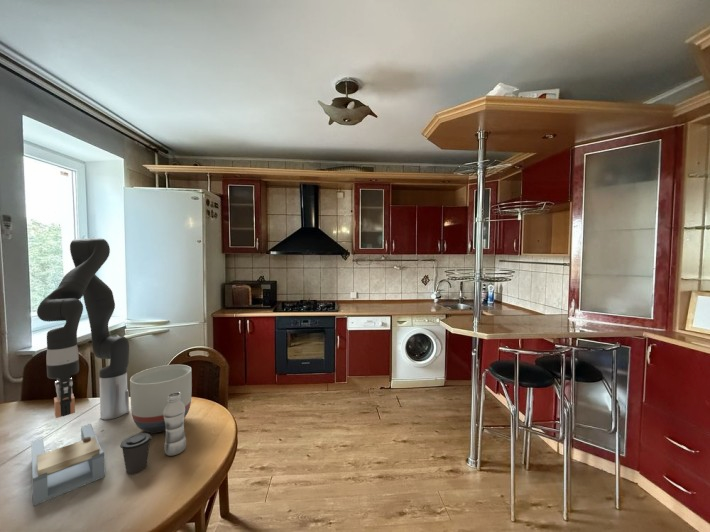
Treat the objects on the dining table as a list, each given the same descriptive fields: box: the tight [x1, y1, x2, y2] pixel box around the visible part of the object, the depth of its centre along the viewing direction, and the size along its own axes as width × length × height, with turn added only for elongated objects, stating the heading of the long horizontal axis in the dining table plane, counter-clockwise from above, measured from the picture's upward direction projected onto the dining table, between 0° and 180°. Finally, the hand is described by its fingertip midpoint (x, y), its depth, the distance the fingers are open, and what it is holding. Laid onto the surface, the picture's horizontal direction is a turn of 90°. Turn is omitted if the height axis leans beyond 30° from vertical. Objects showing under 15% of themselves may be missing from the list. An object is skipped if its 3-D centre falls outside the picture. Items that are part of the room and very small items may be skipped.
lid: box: [37, 437, 100, 476], centre depth 91 cm, size 13×10×3 cm
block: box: [53, 393, 76, 419], centre depth 99 cm, size 4×4×5 cm
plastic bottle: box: [163, 392, 187, 457], centre depth 105 cm, size 6×7×20 cm
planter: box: [129, 364, 193, 434], centre depth 120 cm, size 20×20×21 cm
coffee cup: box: [119, 432, 152, 476], centre depth 97 cm, size 8×8×10 cm
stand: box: [30, 423, 106, 506], centre depth 97 cm, size 15×27×7 cm, turn 47°
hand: (65, 412), depth 100 cm, fingers closed on block, 4 cm apart
